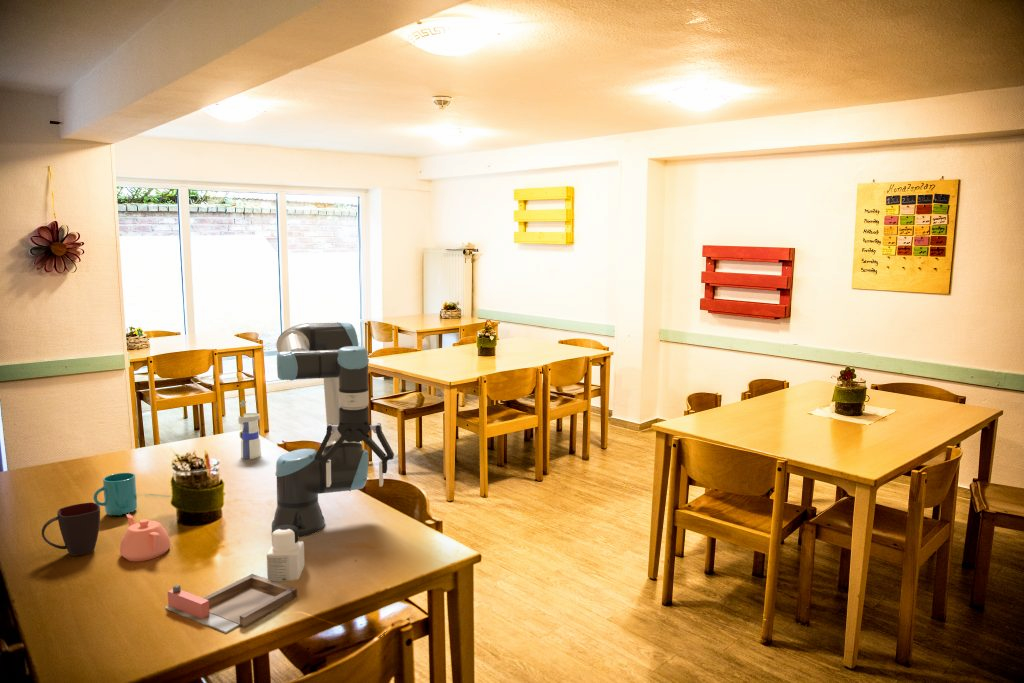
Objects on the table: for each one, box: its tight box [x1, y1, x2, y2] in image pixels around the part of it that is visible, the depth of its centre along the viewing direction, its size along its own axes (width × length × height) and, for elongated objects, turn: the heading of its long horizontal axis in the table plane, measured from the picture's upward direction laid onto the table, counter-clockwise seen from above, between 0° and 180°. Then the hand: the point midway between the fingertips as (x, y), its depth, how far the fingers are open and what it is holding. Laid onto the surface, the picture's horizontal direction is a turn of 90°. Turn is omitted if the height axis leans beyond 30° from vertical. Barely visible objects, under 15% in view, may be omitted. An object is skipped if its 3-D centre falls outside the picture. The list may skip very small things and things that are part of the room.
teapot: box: [119, 513, 171, 563], centre depth 195 cm, size 12×18×10 cm
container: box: [266, 525, 305, 582], centre depth 182 cm, size 8×8×13 cm
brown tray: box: [164, 573, 298, 634], centre depth 168 cm, size 23×19×2 cm
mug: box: [41, 502, 101, 557], centre depth 194 cm, size 10×14×12 cm
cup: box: [92, 472, 138, 516], centre depth 224 cm, size 9×12×11 cm
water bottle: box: [237, 399, 262, 460], centre depth 274 cm, size 8×9×25 cm
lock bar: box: [167, 584, 210, 619], centre depth 164 cm, size 12×2×5 cm, turn 61°
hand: (355, 485), depth 186 cm, fingers open, 13 cm apart
